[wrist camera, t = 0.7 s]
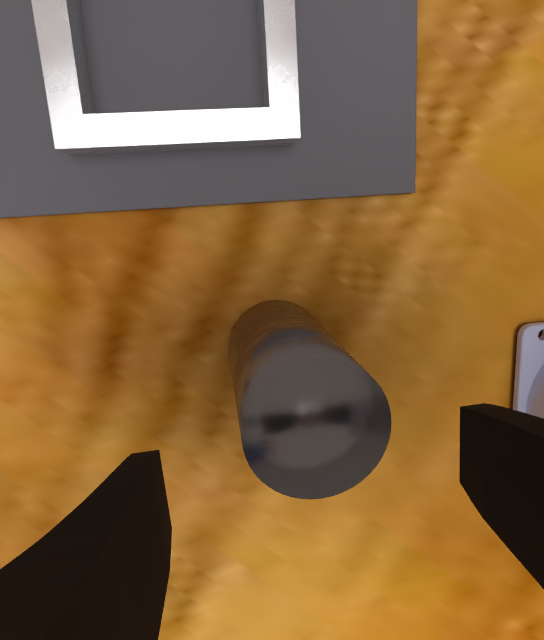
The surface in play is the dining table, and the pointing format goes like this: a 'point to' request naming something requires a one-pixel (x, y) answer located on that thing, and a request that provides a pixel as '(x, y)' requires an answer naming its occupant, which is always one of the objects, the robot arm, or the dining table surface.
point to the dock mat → (215, 105)
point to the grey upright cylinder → (304, 404)
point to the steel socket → (165, 126)
